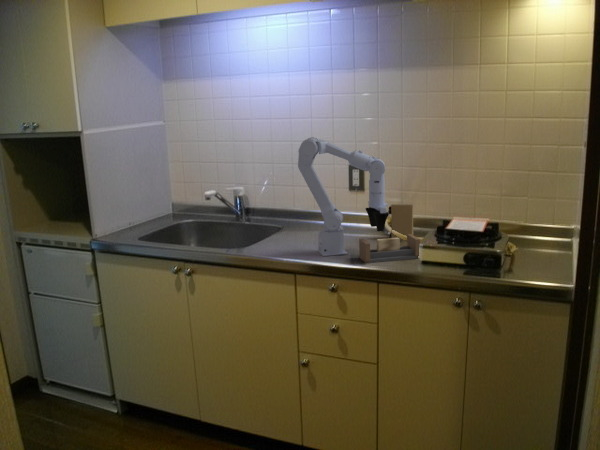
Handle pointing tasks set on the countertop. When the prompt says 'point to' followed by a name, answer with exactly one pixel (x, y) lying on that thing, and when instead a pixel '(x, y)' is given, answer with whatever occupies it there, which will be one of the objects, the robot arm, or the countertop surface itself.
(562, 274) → the countertop surface
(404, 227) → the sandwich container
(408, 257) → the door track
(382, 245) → the door panel
